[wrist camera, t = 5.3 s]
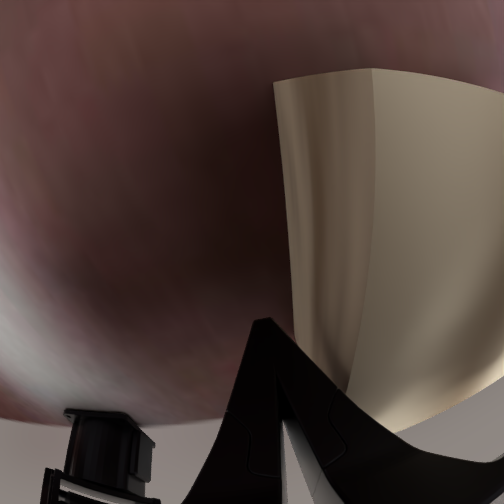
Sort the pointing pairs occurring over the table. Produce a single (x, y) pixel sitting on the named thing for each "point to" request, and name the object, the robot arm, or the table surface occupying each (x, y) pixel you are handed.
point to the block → (396, 235)
